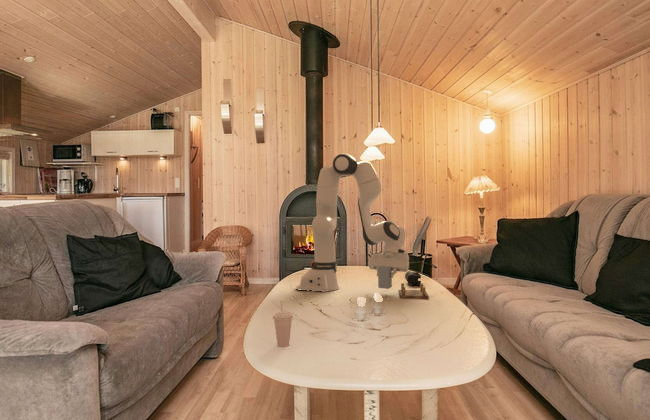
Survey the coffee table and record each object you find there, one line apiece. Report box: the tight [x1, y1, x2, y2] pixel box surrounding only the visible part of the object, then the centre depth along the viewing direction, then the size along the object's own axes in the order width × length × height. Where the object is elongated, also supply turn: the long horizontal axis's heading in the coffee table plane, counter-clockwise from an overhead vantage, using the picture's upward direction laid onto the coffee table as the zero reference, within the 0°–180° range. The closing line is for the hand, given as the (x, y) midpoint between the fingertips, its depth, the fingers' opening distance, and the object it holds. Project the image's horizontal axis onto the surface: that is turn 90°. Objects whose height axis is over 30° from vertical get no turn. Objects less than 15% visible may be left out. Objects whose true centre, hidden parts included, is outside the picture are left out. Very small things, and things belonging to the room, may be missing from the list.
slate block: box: [377, 266, 393, 290], centre depth 204 cm, size 5×5×10 cm
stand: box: [398, 282, 430, 300], centre depth 202 cm, size 13×13×5 cm
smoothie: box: [272, 300, 294, 348], centre depth 135 cm, size 6×6×14 cm
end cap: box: [404, 270, 422, 288], centre depth 227 cm, size 10×7×7 cm
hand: (384, 276), depth 203 cm, fingers closed on slate block, 5 cm apart
